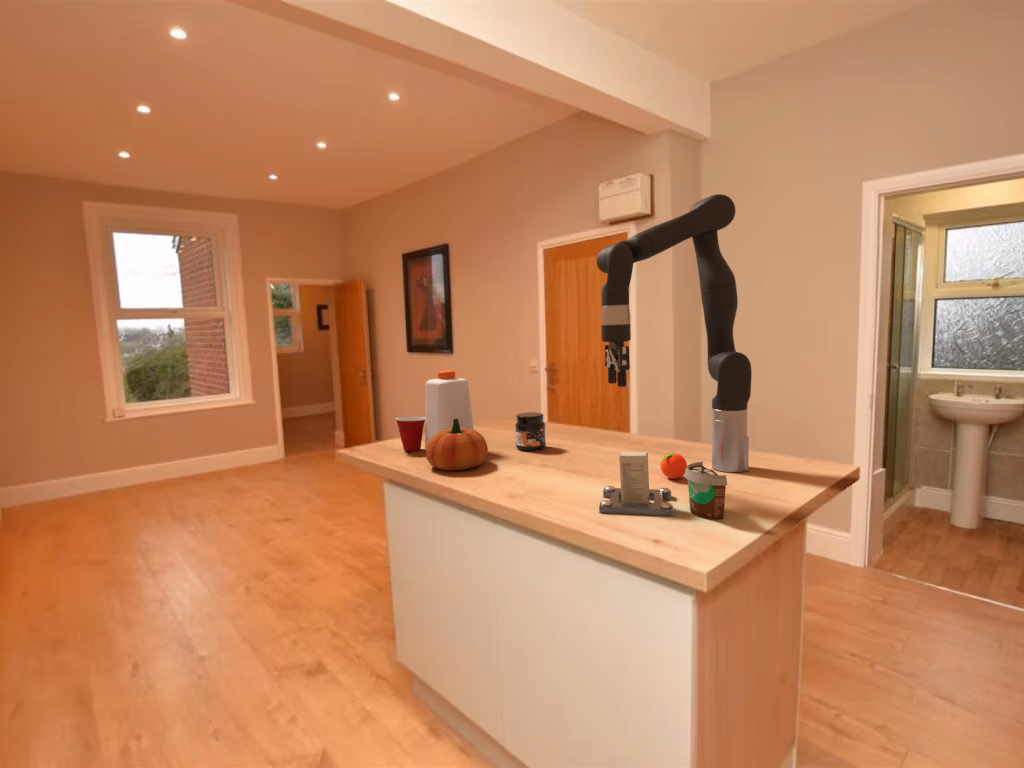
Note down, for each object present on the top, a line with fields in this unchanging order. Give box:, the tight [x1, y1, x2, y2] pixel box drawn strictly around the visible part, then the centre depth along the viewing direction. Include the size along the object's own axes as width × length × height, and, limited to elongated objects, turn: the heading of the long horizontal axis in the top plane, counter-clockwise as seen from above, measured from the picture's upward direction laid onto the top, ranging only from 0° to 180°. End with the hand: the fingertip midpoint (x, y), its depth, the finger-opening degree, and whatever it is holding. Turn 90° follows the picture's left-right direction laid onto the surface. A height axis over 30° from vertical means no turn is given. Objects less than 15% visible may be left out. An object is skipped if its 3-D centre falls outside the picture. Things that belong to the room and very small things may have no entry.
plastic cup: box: [394, 416, 425, 452], centre depth 191 cm, size 11×11×12 cm
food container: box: [683, 461, 728, 521], centre depth 118 cm, size 12×6×10 cm, turn 5°
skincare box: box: [618, 451, 651, 504], centre depth 125 cm, size 6×4×12 cm
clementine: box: [659, 452, 688, 480], centre depth 144 cm, size 8×7×7 cm
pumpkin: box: [425, 419, 489, 471], centre depth 166 cm, size 19×19×15 cm
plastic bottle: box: [424, 370, 475, 450], centre depth 187 cm, size 15×15×28 cm
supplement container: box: [514, 411, 547, 452], centre depth 186 cm, size 10×10×12 cm
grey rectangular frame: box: [598, 485, 674, 517], centre depth 125 cm, size 16×14×2 cm
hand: (616, 384), depth 141 cm, fingers open, 8 cm apart
